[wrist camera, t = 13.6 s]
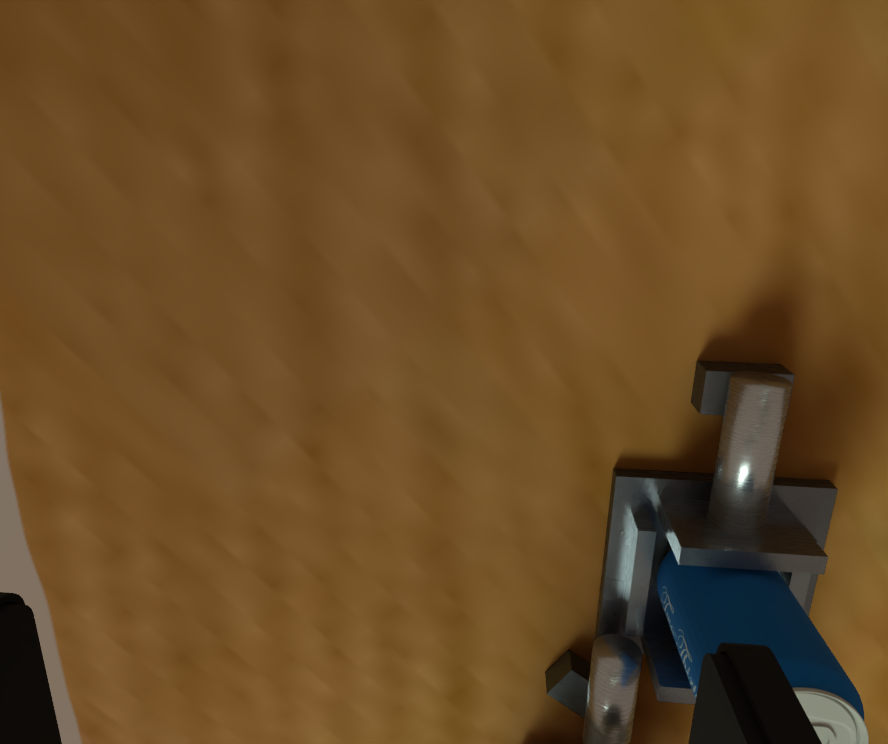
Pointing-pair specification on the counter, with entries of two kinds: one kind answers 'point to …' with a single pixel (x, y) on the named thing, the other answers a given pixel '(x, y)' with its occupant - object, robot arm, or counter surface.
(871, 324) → the counter surface
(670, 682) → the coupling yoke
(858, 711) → the beverage can
